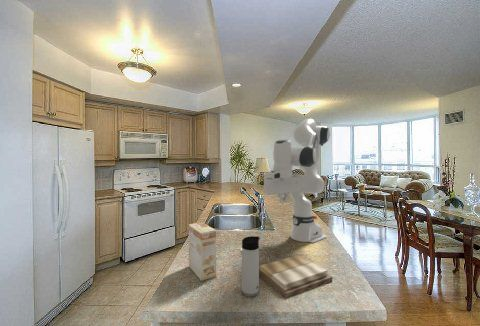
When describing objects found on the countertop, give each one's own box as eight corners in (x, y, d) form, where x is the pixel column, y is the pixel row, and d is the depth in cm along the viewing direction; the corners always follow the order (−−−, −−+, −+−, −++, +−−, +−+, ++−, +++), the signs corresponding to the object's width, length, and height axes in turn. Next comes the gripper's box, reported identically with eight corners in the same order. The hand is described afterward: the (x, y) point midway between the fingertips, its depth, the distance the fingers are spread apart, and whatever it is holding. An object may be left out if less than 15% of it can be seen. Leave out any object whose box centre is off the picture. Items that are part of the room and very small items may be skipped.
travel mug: (262, 295, 81) (262, 239, 81) (244, 298, 79) (244, 241, 79) (256, 285, 87) (256, 234, 87) (239, 288, 85) (239, 236, 85)
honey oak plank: (299, 259, 106) (299, 254, 106) (311, 266, 99) (312, 262, 99) (260, 270, 96) (260, 265, 96) (271, 279, 89) (271, 274, 89)
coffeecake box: (217, 276, 94) (216, 230, 94) (200, 281, 90) (200, 233, 90) (202, 262, 107) (202, 221, 106) (188, 266, 103) (188, 224, 102)
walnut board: (297, 260, 109) (297, 257, 109) (332, 280, 91) (332, 276, 91) (255, 272, 97) (255, 269, 97) (285, 297, 80) (285, 293, 80)
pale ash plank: (312, 267, 99) (312, 262, 99) (327, 275, 92) (327, 270, 92) (271, 279, 89) (271, 274, 89) (284, 290, 82) (284, 284, 82)
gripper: (294, 172, 116) (295, 198, 116) (261, 174, 106) (261, 203, 107) (303, 172, 110) (303, 201, 111) (269, 175, 100) (269, 206, 101)
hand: (283, 202), depth 108 cm, fingers closed
